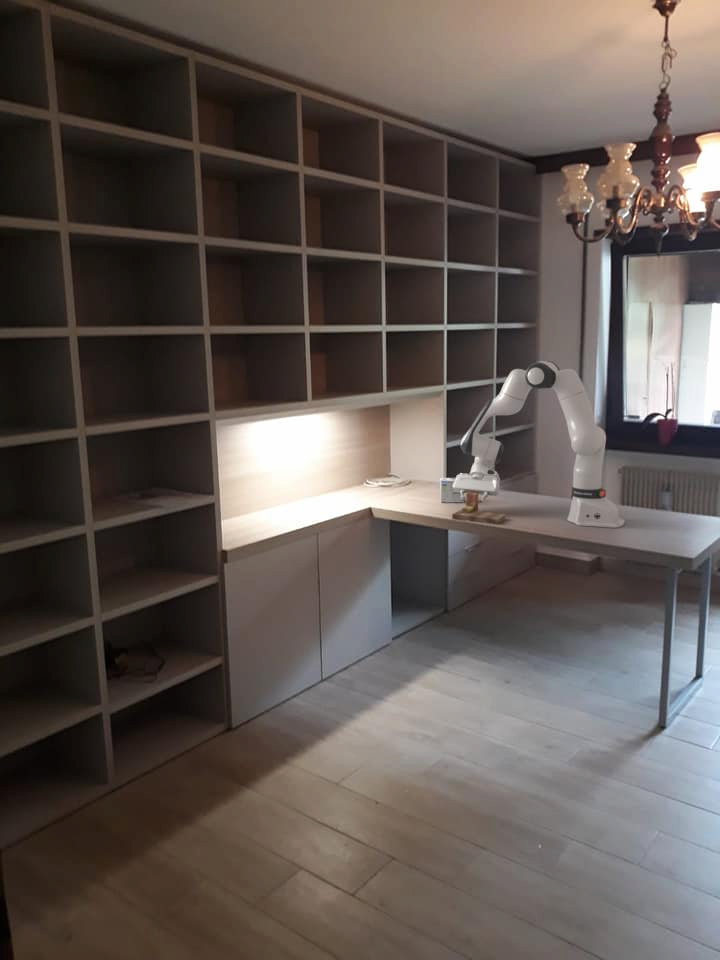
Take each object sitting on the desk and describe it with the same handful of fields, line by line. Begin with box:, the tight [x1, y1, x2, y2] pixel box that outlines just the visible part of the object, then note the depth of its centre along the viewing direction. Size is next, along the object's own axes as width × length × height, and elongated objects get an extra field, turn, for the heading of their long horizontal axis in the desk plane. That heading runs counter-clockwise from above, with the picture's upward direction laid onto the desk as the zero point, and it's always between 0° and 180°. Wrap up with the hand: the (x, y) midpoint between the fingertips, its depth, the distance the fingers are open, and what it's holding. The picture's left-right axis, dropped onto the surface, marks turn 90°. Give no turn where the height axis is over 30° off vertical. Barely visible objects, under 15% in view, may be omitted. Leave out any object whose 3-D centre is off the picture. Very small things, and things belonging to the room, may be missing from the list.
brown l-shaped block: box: [461, 492, 479, 513], centre depth 332 cm, size 4×10×9 cm, turn 151°
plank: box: [451, 509, 507, 525], centre depth 326 cm, size 20×10×2 cm, turn 61°
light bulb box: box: [439, 477, 465, 504], centre depth 358 cm, size 11×7×11 cm, turn 89°
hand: (471, 500), depth 334 cm, fingers open, 7 cm apart
